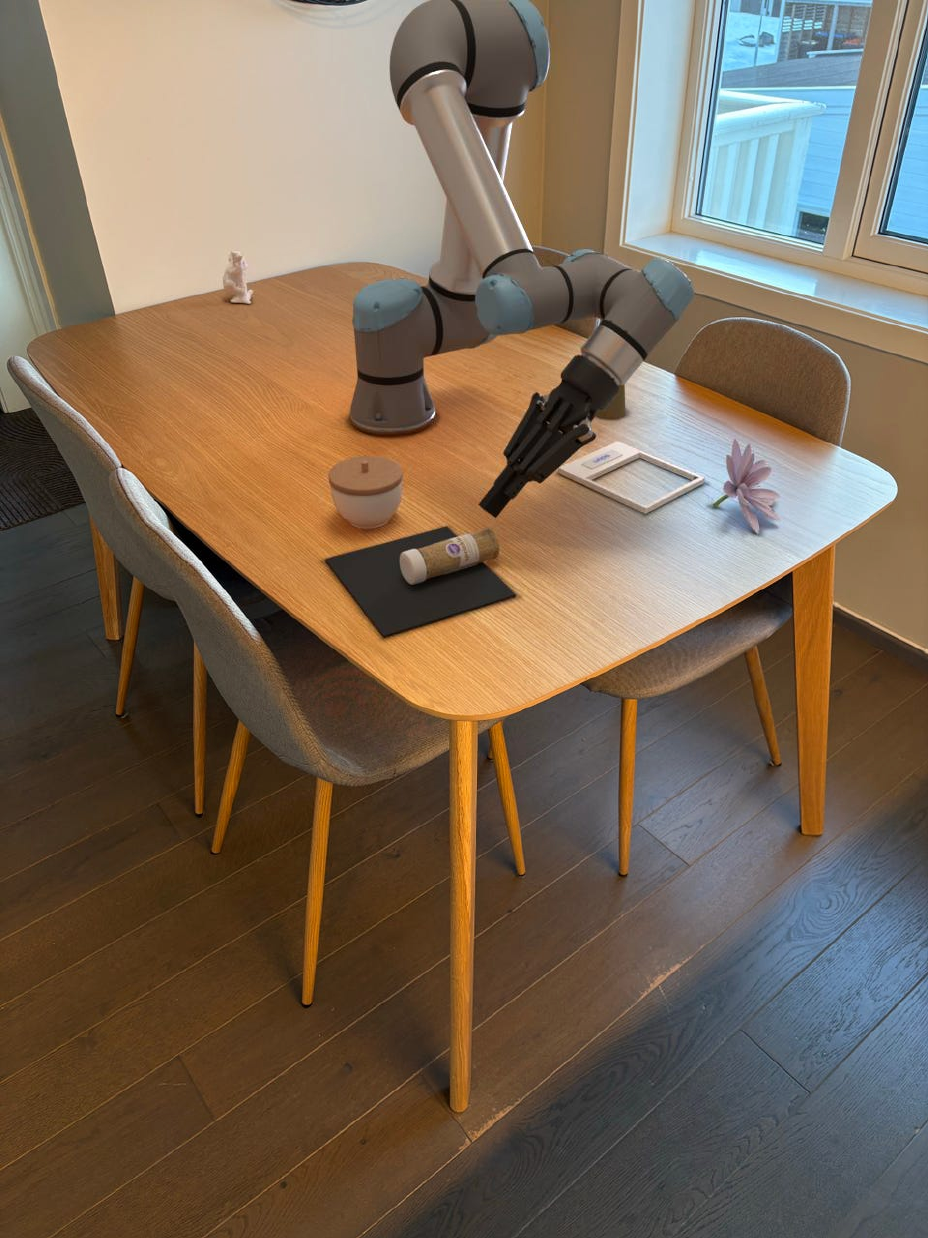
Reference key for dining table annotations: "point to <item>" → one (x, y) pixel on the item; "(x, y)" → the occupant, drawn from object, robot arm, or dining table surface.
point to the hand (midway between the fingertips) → (487, 511)
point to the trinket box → (366, 490)
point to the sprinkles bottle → (449, 556)
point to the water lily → (748, 485)
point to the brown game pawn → (614, 406)
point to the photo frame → (614, 458)
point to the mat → (412, 606)
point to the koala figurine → (237, 278)
